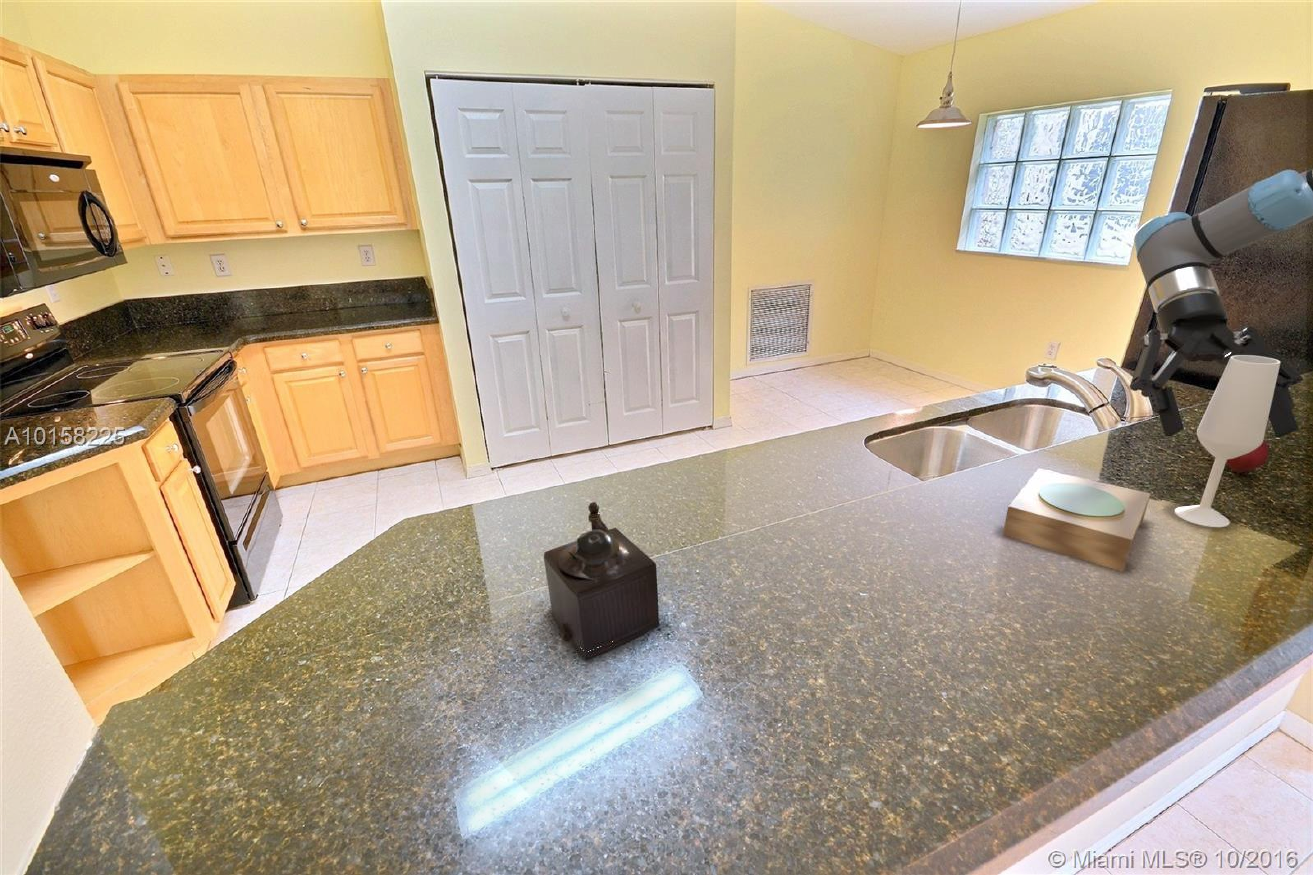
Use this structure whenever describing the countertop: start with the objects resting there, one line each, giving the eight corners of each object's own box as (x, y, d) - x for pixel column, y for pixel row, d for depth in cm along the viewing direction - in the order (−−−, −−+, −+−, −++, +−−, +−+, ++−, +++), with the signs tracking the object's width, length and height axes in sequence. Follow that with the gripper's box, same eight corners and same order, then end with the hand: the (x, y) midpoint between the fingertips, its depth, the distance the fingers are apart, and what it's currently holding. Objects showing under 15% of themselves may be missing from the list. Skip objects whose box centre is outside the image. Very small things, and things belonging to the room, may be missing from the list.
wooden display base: (1142, 523, 85) (1151, 492, 83) (1122, 573, 74) (1132, 538, 72) (1033, 495, 94) (1039, 467, 92) (1002, 536, 84) (1008, 504, 82)
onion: (1215, 462, 101) (1229, 419, 98) (1261, 471, 97) (1277, 426, 94) (1212, 473, 98) (1226, 429, 95) (1260, 483, 94) (1276, 437, 91)
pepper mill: (545, 616, 73) (524, 490, 66) (621, 584, 78) (609, 464, 72) (600, 695, 61) (581, 549, 54) (686, 651, 66) (679, 513, 59)
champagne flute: (1238, 519, 84) (1297, 359, 75) (1223, 534, 81) (1283, 369, 72) (1180, 502, 90) (1229, 350, 81) (1164, 516, 86) (1213, 359, 77)
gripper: (1261, 317, 89) (1311, 443, 81) (1083, 321, 94) (1114, 442, 85) (1303, 286, 83) (1362, 421, 75) (1110, 293, 87) (1145, 421, 79)
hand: (1230, 433), depth 80 cm, fingers open, 13 cm apart
